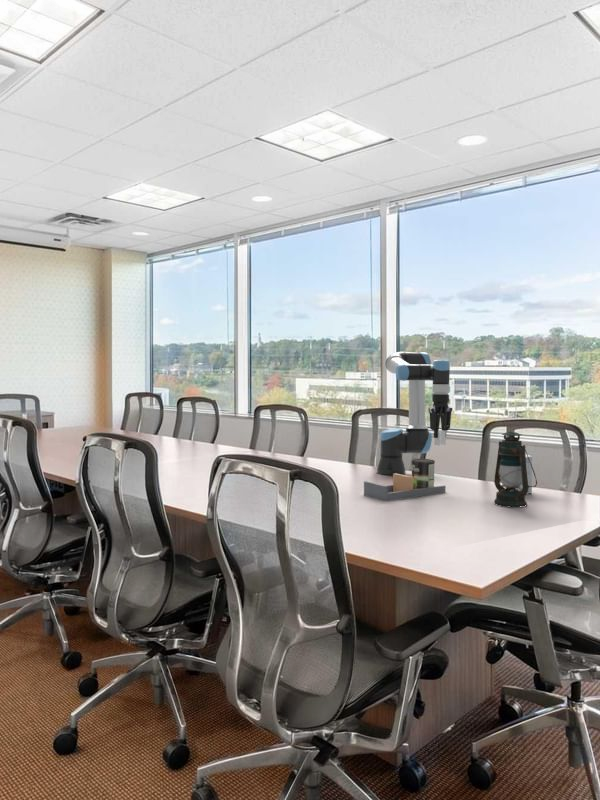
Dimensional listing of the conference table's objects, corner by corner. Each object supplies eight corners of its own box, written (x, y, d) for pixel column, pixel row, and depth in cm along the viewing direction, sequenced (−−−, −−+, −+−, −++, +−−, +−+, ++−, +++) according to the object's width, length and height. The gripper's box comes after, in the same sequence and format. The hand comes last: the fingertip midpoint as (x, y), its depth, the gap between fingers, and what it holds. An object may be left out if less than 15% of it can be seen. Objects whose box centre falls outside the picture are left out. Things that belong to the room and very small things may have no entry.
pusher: (395, 491, 278) (395, 473, 277) (413, 495, 268) (413, 477, 268) (392, 491, 277) (393, 473, 276) (410, 495, 267) (410, 477, 267)
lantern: (482, 500, 259) (483, 429, 258) (509, 498, 265) (511, 428, 263) (514, 510, 241) (515, 433, 240) (543, 507, 247) (544, 432, 245)
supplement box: (526, 490, 283) (527, 453, 282) (532, 494, 274) (533, 456, 273) (505, 489, 284) (506, 453, 283) (510, 493, 275) (511, 456, 274)
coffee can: (418, 494, 273) (418, 462, 272) (407, 489, 283) (407, 459, 282) (438, 492, 276) (439, 461, 275) (427, 488, 286) (427, 458, 285)
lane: (422, 487, 289) (422, 474, 289) (445, 492, 277) (445, 479, 277) (363, 495, 270) (364, 481, 269) (385, 500, 258) (385, 486, 257)
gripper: (447, 393, 290) (446, 442, 291) (422, 393, 282) (421, 444, 283) (459, 393, 284) (458, 444, 285) (434, 394, 275) (433, 446, 276)
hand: (439, 444), depth 284 cm, fingers open, 3 cm apart
